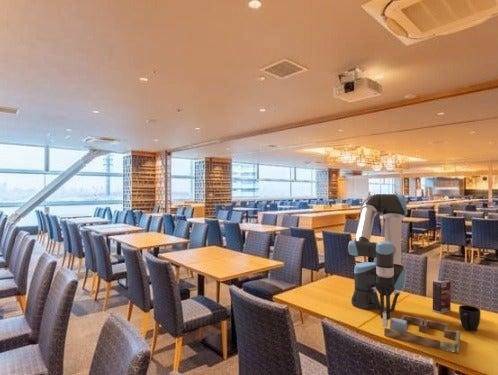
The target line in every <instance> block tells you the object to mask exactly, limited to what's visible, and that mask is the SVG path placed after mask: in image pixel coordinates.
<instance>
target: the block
mask: <svg viewBox="0 0 498 375" xmlns="http://www.w3.org/2000/svg"><path fill="white" fill-rule="evenodd" d="M392 318H393V319H392V320H391V319H390V323H389V326H390V328H389V329H392V330H396V331H401V332H405V333H408V323H407V321H406V320H401V318H396V317H392Z"/></svg>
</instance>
